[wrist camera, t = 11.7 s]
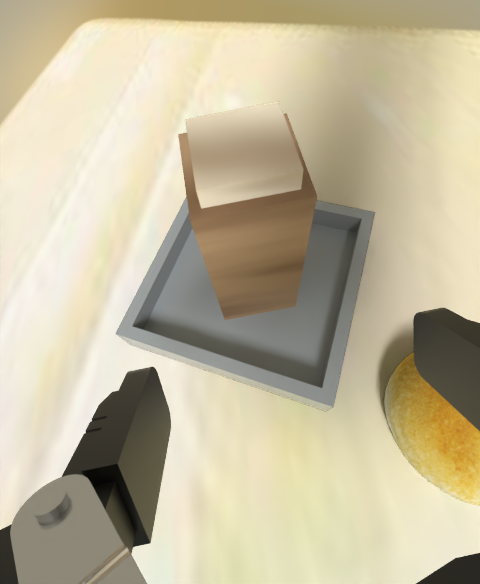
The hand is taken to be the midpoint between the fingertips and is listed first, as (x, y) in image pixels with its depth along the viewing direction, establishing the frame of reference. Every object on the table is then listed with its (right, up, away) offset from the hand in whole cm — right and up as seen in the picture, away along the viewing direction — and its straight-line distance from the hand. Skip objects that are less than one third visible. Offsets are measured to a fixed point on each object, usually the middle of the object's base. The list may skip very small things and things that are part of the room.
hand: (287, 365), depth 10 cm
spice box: (0, +3, +14) cm, 14 cm away
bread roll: (+12, -6, +10) cm, 16 cm away
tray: (0, +3, +14) cm, 15 cm away
